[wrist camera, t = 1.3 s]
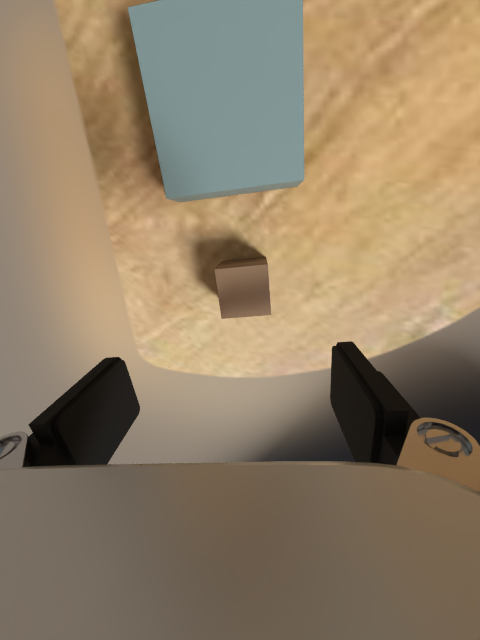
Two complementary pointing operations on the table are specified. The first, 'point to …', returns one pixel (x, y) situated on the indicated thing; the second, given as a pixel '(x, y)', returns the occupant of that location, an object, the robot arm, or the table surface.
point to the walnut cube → (243, 288)
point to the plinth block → (223, 93)
